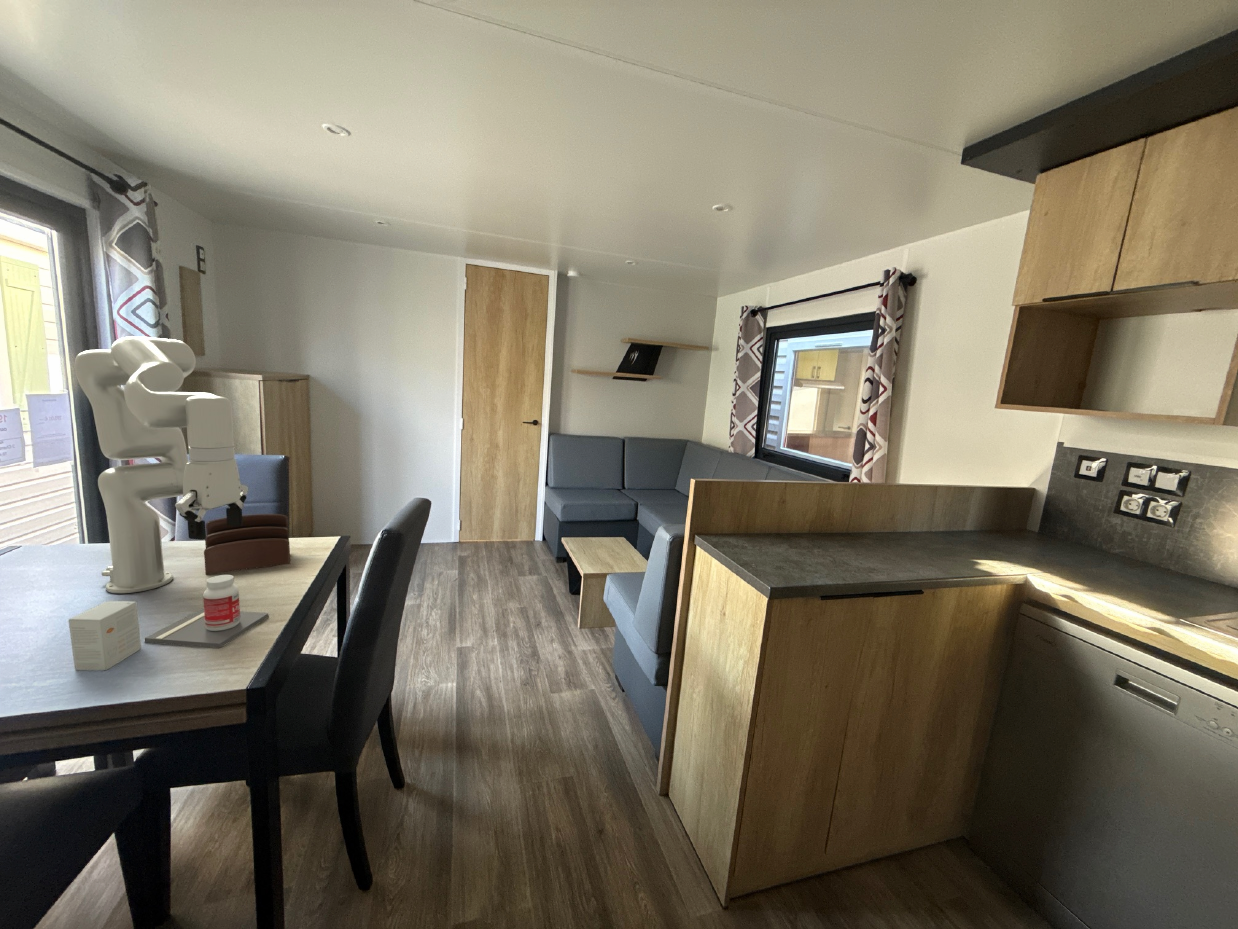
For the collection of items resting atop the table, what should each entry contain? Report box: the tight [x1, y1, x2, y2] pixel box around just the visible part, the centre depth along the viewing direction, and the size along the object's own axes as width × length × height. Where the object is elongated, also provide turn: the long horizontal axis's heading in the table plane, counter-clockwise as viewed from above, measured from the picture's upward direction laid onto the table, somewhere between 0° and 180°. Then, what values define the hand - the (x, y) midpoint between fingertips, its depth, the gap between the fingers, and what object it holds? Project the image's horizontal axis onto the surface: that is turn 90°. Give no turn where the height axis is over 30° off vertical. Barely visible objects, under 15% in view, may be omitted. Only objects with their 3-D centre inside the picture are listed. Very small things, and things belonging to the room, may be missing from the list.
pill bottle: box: [202, 574, 241, 631], centre depth 109 cm, size 6×6×11 cm
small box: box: [68, 600, 142, 671], centre depth 96 cm, size 8×6×10 cm
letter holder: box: [203, 513, 291, 575], centre depth 146 cm, size 10×20×14 cm, turn 125°
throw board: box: [143, 607, 270, 649], centre depth 110 cm, size 16×14×1 cm
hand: (217, 531), depth 107 cm, fingers open, 9 cm apart
